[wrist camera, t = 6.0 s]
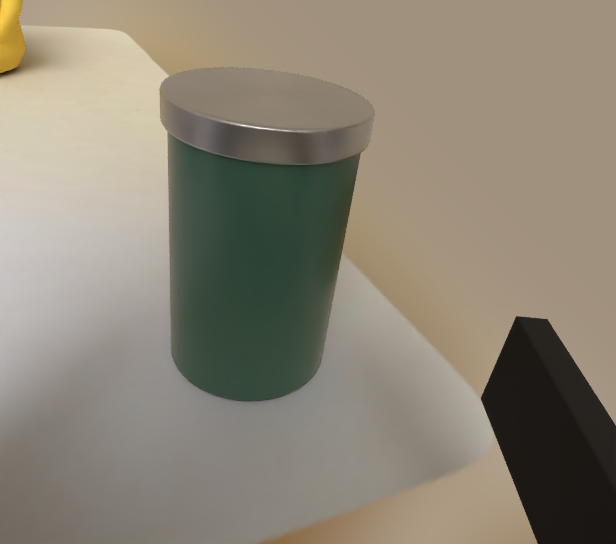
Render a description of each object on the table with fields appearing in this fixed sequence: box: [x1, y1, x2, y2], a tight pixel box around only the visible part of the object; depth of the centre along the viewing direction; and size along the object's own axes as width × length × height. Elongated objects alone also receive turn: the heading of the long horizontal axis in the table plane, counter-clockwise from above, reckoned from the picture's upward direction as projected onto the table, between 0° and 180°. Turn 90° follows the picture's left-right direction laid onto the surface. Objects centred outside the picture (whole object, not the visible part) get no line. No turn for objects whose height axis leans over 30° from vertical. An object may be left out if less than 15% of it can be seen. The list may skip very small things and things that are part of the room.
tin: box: [160, 67, 375, 401], centre depth 18 cm, size 6×6×10 cm
